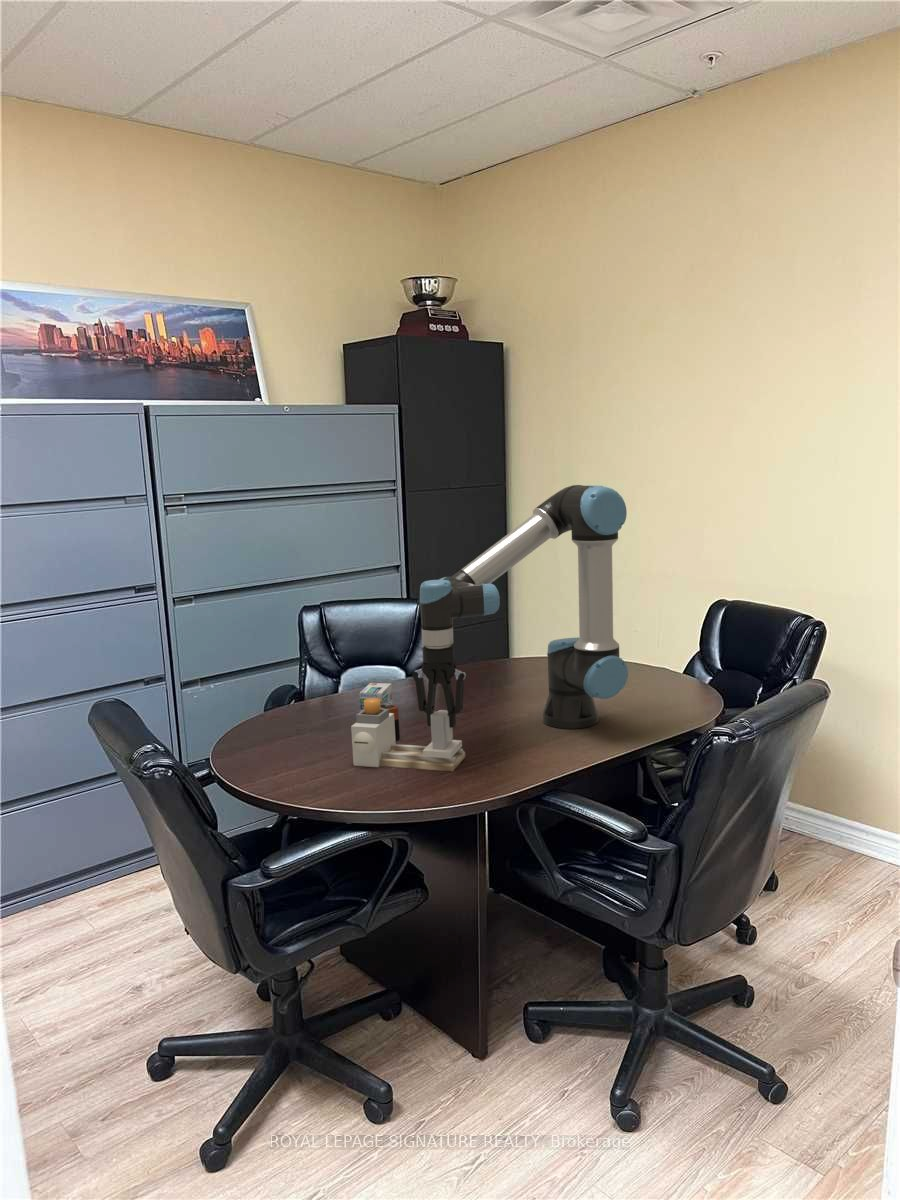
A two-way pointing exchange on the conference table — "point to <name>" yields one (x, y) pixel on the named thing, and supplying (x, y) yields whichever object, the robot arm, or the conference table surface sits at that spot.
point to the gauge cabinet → (372, 737)
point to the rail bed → (419, 758)
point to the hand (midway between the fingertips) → (442, 739)
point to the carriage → (441, 739)
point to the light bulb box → (376, 693)
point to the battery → (396, 717)
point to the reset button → (372, 706)
